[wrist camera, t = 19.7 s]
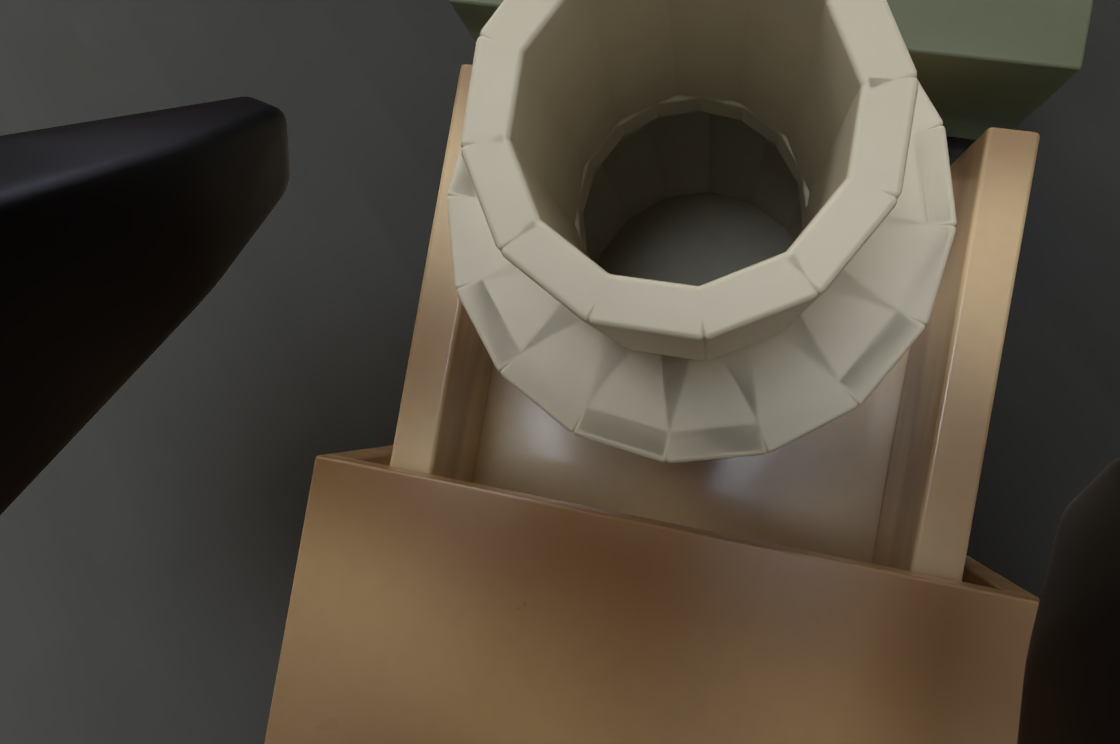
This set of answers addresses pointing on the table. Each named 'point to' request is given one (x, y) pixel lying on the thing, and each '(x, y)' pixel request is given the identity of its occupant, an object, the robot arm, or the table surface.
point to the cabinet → (619, 629)
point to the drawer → (847, 442)
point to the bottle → (698, 215)
